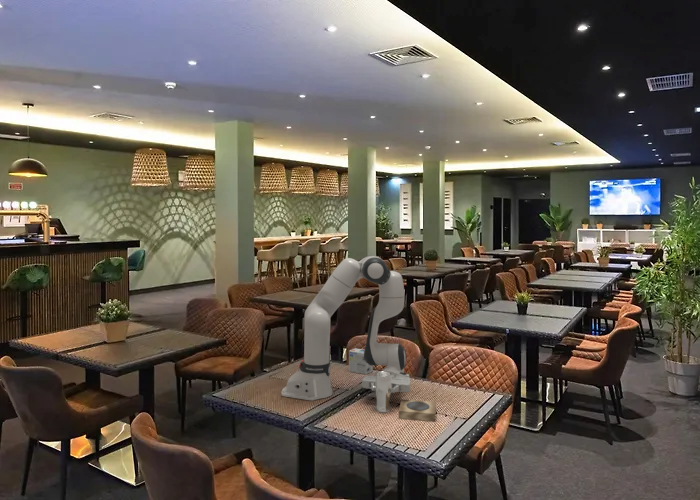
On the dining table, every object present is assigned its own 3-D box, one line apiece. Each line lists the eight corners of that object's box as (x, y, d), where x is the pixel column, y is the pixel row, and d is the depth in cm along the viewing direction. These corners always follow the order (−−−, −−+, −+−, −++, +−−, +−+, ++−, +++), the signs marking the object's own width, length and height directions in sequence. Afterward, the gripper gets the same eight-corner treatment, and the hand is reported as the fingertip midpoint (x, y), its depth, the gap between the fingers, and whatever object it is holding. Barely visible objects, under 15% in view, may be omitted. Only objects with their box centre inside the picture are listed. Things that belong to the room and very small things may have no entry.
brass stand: (398, 418, 199) (398, 410, 199) (401, 406, 212) (401, 398, 212) (435, 421, 197) (435, 413, 196) (435, 409, 209) (435, 401, 209)
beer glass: (390, 413, 204) (391, 376, 203) (373, 412, 205) (373, 375, 204) (392, 407, 210) (393, 371, 209) (375, 406, 212) (376, 370, 211)
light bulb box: (373, 371, 259) (373, 350, 258) (366, 375, 253) (366, 353, 252) (355, 368, 264) (355, 347, 264) (348, 371, 259) (348, 350, 258)
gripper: (365, 370, 222) (358, 379, 209) (412, 374, 217) (407, 384, 203) (365, 384, 223) (357, 395, 209) (412, 389, 217) (407, 400, 204)
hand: (382, 390), depth 206 cm, fingers closed on beer glass, 7 cm apart
